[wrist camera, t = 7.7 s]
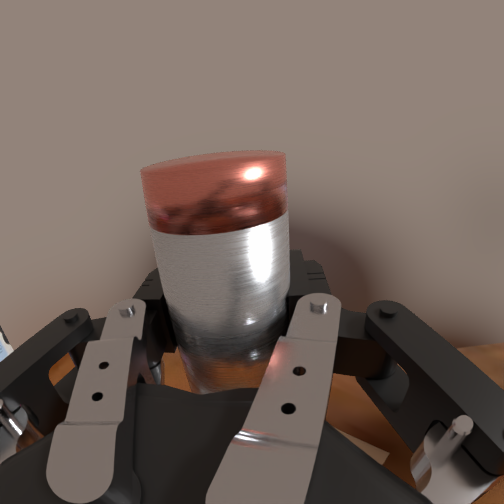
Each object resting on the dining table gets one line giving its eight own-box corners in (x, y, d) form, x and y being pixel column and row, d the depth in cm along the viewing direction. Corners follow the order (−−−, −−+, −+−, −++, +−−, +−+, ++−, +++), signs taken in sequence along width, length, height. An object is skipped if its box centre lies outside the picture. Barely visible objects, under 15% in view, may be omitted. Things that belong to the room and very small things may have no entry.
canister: (246, 386, 16) (218, 150, 11) (306, 421, 13) (313, 151, 8) (190, 429, 13) (117, 172, 8) (250, 476, 10) (199, 174, 6)
